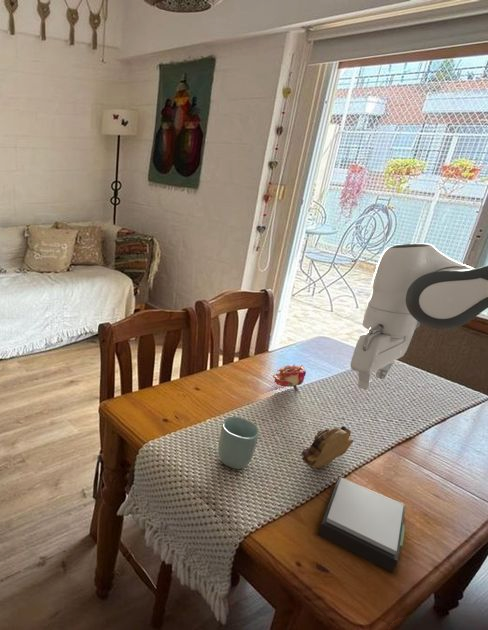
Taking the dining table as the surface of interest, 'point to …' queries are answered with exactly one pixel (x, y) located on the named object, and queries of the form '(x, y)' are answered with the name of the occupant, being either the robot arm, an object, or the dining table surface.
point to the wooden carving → (327, 446)
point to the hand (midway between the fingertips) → (372, 382)
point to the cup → (237, 442)
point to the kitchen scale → (365, 523)
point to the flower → (290, 376)
